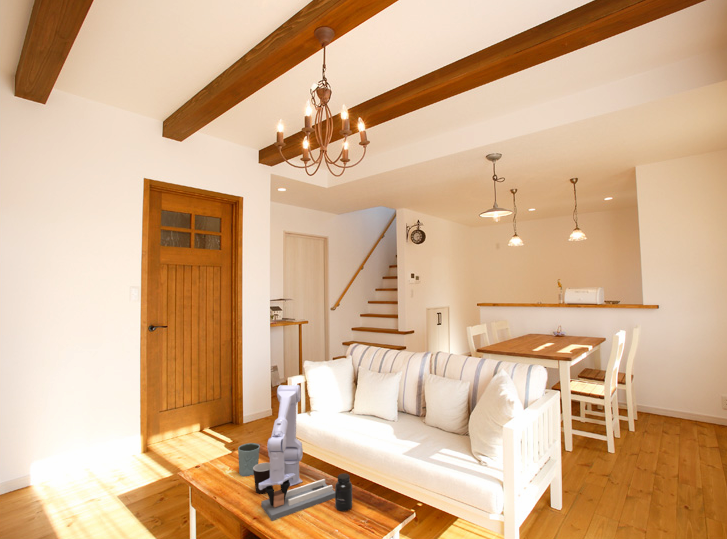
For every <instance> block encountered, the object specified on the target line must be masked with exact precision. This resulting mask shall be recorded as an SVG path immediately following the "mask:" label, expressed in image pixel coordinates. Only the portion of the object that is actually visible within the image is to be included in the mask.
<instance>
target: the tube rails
mask: <svg viewBox="0 0 727 539" xmlns="http://www.w3.org/2000/svg"><path fill="white" fill-rule="evenodd" d="M325 483H326V478H323V479H319V480H316V481H314V482H309V483H307V484H304V485H302V486H298V487H295V488H292V489H288V490H287V493H286V497H289V496H292V495H295V494H298V493H301V492H304V491H307V490H310V489H313V488H316V487H319V486H322V485H325ZM333 490H334V488H333V485H332V484H330V485H328V486H326V487H323V488H320V489H317V490H315V491H312V492H309V493H306V494H303V495H300V496H297V497H294V498H291V499H288V505H289V506H290V505H293V504H296V503H299V502H302V501H304V500H307V499H310V498H313V497H316V496H319V495H322V494H324V493H327V492H330V491H333ZM286 497H285V498H286Z"/></svg>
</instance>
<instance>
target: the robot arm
mask: <svg viewBox="0 0 727 539" xmlns="http://www.w3.org/2000/svg"><path fill="white" fill-rule="evenodd" d="M276 397H277V401H278V402H279V408H278V417H277V418H276V419H275V420H274V423H273V428H272V432H271V436H270V437H268V440H267V445H266V446H267V447H266V448H267V452H268V458H269V463H270V478H269V479H267V480H265V481H263V482H261V483H259V489H260V490H262V489H263V488H265V489H266V491H267V493H266V494H267V496H268V499H269V500H270V504H271V506H273V504H274V499H273V497H274V491H275V489H274V486H275V485H277V486H280V490H281V491H282V492H283V493H284V501H285V497H286V493H287V491H288V490H289V488H290V487H292V486H295V485H299V484H302V483H303V479H301V478H300V462H301V461H302V459H303V455H304V454H303V450H304V449H303V443H302V442H303V441H301V440H299V439H298V438H297V405H298V403H299V402H301V398H302V389H301V386H300V385H299V384H296V385H295V384H294V385H292V384H289V385H288V384H287V385H283V384H280V385H279V386H278V387H277V390H276Z"/></svg>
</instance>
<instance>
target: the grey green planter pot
mask: <svg viewBox="0 0 727 539" xmlns="http://www.w3.org/2000/svg"><path fill="white" fill-rule="evenodd" d="M260 449H261V446H260V444H259V443H257V442H256V443H254V442H248V443H244V444H241V445H239V446H238V448H237V452H238V454H237V455H238V472H239V475H240V476H241V477H251V476H250V475H252V476H254V472H253V467H254V466H255V465H257V464H259V461H260V460H259V458H260V451H261V450H260Z"/></svg>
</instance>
